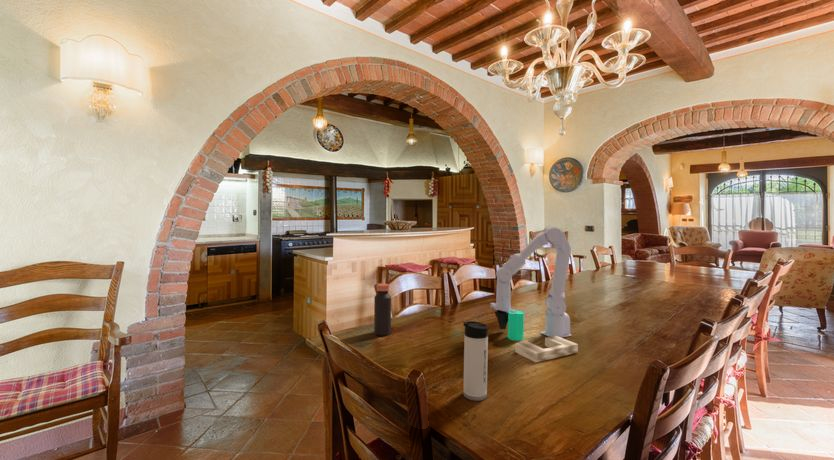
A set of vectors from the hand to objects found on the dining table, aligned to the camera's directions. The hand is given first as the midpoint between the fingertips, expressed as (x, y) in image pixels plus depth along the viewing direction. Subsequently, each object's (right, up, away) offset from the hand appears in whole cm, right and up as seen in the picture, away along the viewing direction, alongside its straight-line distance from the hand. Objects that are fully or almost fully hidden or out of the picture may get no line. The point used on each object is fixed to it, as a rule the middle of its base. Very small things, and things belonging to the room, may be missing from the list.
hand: (502, 328), depth 149 cm
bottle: (-50, -1, -3) cm, 50 cm away
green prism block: (+3, -2, -7) cm, 8 cm away
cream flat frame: (+11, -3, -21) cm, 24 cm away
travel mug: (-20, -4, -52) cm, 56 cm away
